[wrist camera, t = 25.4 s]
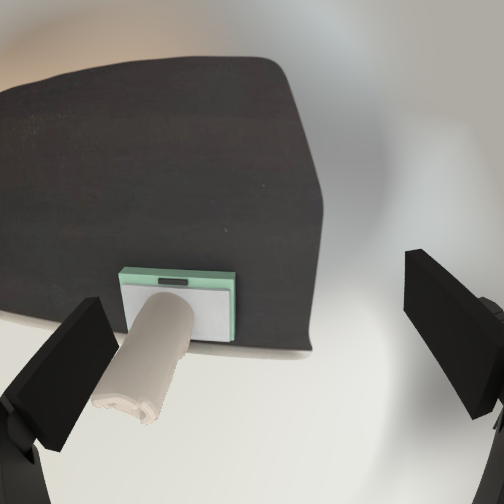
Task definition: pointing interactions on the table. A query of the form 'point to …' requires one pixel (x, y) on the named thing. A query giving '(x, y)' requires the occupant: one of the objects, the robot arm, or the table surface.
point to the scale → (185, 297)
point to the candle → (147, 358)
